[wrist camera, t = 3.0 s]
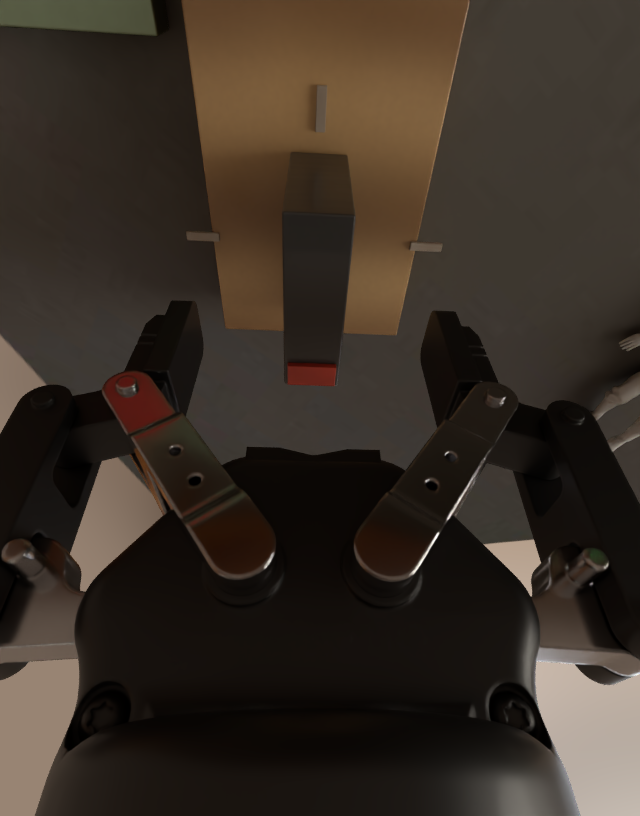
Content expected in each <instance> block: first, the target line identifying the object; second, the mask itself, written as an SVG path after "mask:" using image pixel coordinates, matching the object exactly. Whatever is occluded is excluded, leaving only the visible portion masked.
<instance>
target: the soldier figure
mask: <svg viewBox="0 0 640 816" xmlns="http://www.w3.org/2000/svg"><path fill="white" fill-rule="evenodd" d="M628 340H630V341H628ZM626 341H628V342H626ZM624 342H626V343H624ZM632 342H633V343H632ZM622 343H624V344H622ZM629 343H631V344H629ZM619 344H622V345H620V347H623V346H625V345H627V344H629V345H627V346H625V347H623V348H622V349H626V348H628V347H630V348H628V349H627V350H626V351H629V350H631V349H633V348H635V347H637V346H639V345H640V334H634V335H632V336H630V337H628V338H626V339H624V340H623V341H621V342H619ZM633 345H634V346H633ZM631 346H632V347H631ZM639 394H640V371H639V372H638V373H636V374H634V375H632V376H631V377H629V378H628V379H627V380H626V381H625V382H624V383H623V384H621V385H620V386H614V387H613V388H612V389H611V391H606V392H605V397H604V399H603V400H602V402H601V403H600V404H599V405H598V406H597V407H596V409H595V411H592V412H590V413H591V414H592V415H593V416H594V417H595V419H596V420H598V419H599V418H600V417H601V416H602V415H603V414H604V413H605V412H606V411H608V410H610V409H612V408H614V407H615V406H617V405H622V404H625V403H627V402H628V401H629V400H631V399H633V398H634V397H636V396H638V395H639ZM638 436H640V416H639V418H638V419H637V420H636V421H635V423H634V424H632V425H631V426H630V427H629V428H628V429H627V430H626V431H625V432H624V433H622V434H620V435H617V436H613V437H611V438H610V439H609V440H607V442H608V444H609V446H610V448H611V450H612V452H613V451H614V450H615V449H616V448H618V447H620V446H622V444H623V443H625V442H628V441H631V440H632V439H634V438H636V437H638ZM615 438H616V439H615Z"/></svg>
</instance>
